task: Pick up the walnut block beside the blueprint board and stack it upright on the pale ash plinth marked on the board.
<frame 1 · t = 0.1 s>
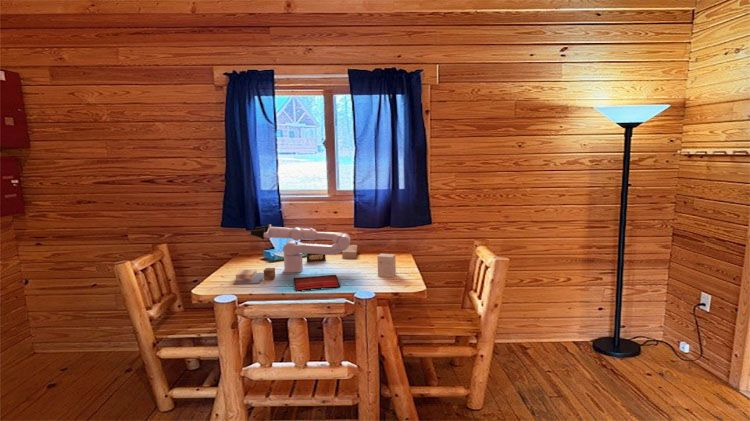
hand: (252, 231, 217), 22 cm above the table, fingers open, 7 cm apart
blueprint board: (250, 278, 207), on the table
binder: (316, 285, 198), on the table
walnut block: (269, 278, 208), on the table
ammunition clip: (316, 261, 239), on the table
small box: (386, 275, 211), on the table
brick: (350, 255, 251), on the table
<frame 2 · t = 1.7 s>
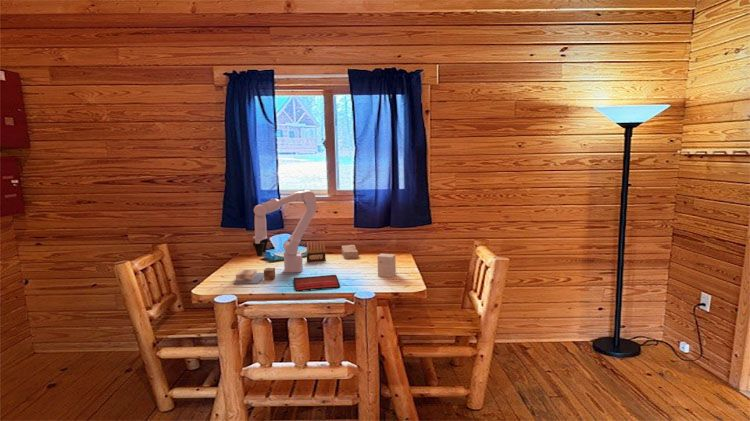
hand: (261, 254, 214), 10 cm above the table, fingers open, 7 cm apart
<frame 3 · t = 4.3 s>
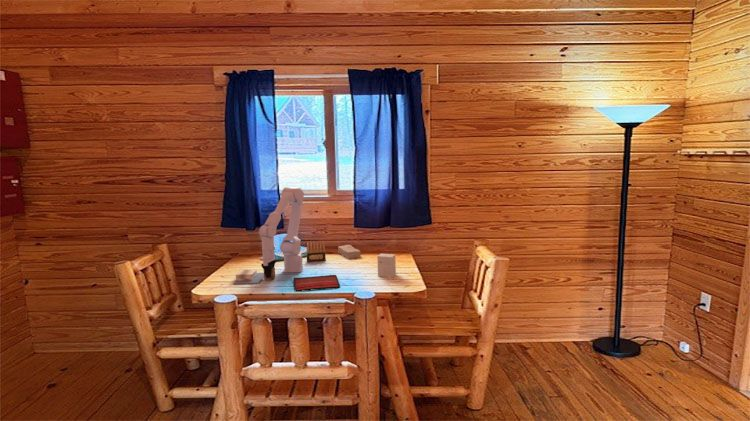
hand: (269, 275, 207), 1 cm above the table, fingers closed on walnut block, 4 cm apart
walnut block: (269, 278, 208), on the table, touching gripper
when the fingers open (6 cm above the table, at t = 7.5 s): walnut block stays where it is, resting on blueprint board.
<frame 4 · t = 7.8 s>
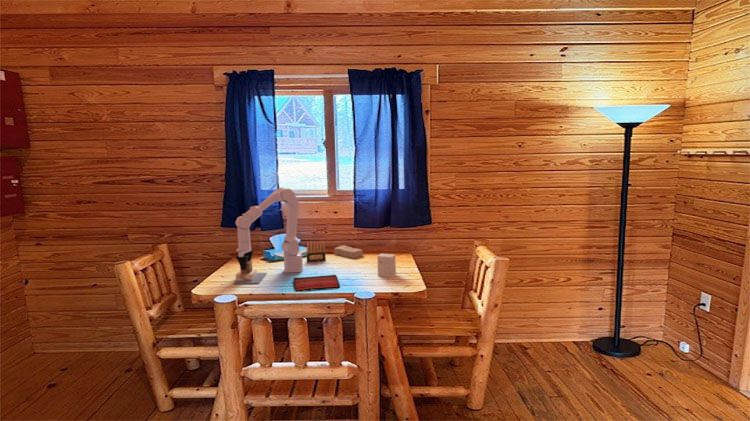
hand: (245, 267, 207), 6 cm above the table, fingers open, 7 cm apart
walnut block: (246, 272, 207), point 4 cm above the table, touching blueprint board
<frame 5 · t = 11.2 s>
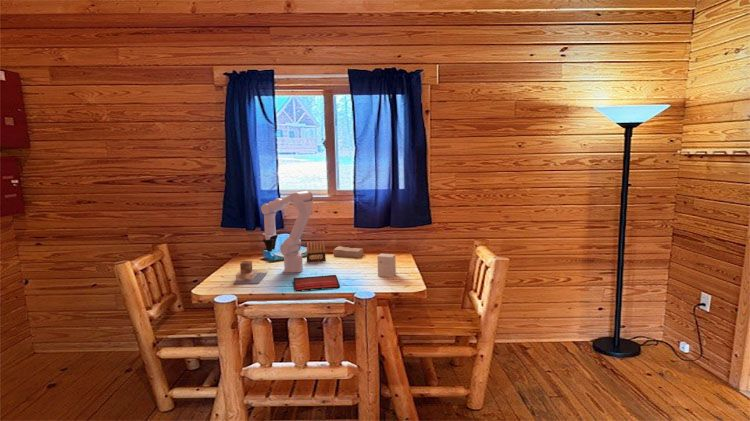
hand: (271, 249, 227), 9 cm above the table, fingers open, 7 cm apart
at the end: walnut block 0.2 cm from the target spot on the blueprint board, point 3.6 cm above the blueprint board's base; walnut block tilted 0°; the gripper is holding nothing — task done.
